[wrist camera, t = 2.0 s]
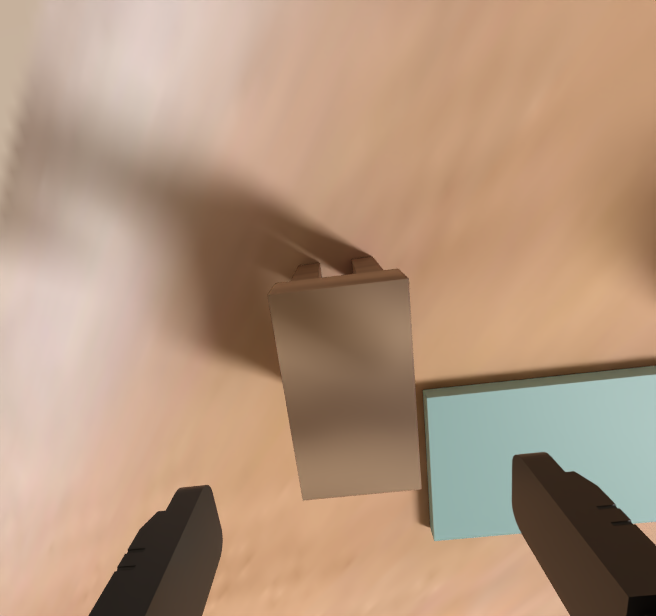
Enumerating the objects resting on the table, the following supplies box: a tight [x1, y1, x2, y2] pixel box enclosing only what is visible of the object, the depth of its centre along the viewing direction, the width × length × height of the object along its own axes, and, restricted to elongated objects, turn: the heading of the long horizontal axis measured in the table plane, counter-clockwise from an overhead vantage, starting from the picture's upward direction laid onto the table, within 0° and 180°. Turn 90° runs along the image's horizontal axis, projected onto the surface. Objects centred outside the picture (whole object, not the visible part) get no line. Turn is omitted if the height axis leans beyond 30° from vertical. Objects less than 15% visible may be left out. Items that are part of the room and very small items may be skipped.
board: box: [423, 366, 656, 541], centre depth 23 cm, size 11×15×1 cm
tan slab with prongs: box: [268, 257, 421, 500], centre depth 18 cm, size 9×5×8 cm, turn 7°
